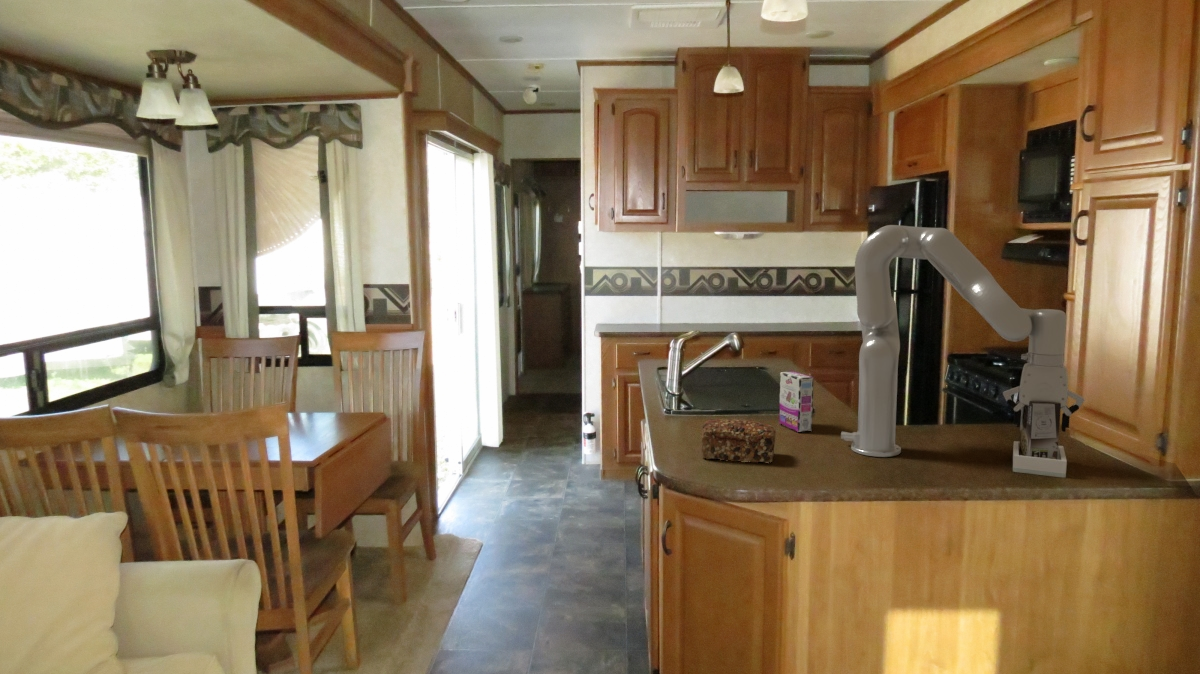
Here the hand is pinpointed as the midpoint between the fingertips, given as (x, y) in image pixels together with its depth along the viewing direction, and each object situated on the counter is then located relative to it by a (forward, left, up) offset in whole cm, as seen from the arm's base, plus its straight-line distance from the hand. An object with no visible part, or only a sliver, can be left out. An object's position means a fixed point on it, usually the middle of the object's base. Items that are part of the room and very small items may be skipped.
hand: (1040, 428), depth 188 cm
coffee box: (0, 0, -9) cm, 9 cm away
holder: (0, 0, -10) cm, 10 cm away
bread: (-69, -23, -10) cm, 74 cm away
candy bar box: (-63, +11, -10) cm, 65 cm away
